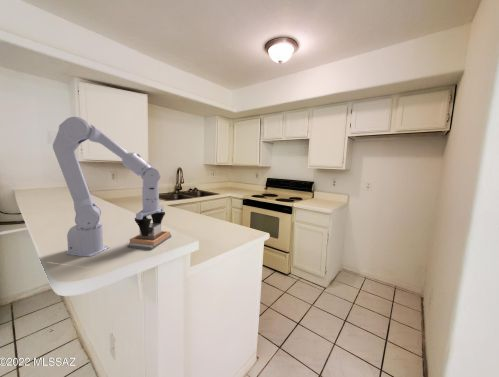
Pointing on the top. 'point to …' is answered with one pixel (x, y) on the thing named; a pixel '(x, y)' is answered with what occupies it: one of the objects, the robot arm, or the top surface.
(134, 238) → the frame
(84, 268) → the top surface
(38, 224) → the top surface
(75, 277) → the top surface
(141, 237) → the brushed metal cube
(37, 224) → the top surface
